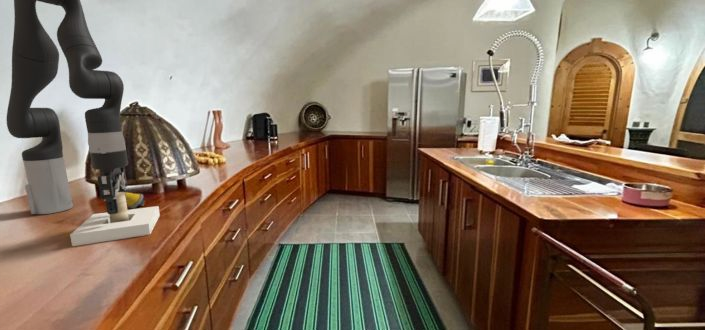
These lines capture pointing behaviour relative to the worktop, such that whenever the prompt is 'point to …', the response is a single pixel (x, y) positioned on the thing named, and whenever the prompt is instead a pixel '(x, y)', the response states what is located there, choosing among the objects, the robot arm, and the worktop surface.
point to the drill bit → (134, 200)
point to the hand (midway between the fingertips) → (117, 208)
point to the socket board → (115, 226)
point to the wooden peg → (120, 209)
